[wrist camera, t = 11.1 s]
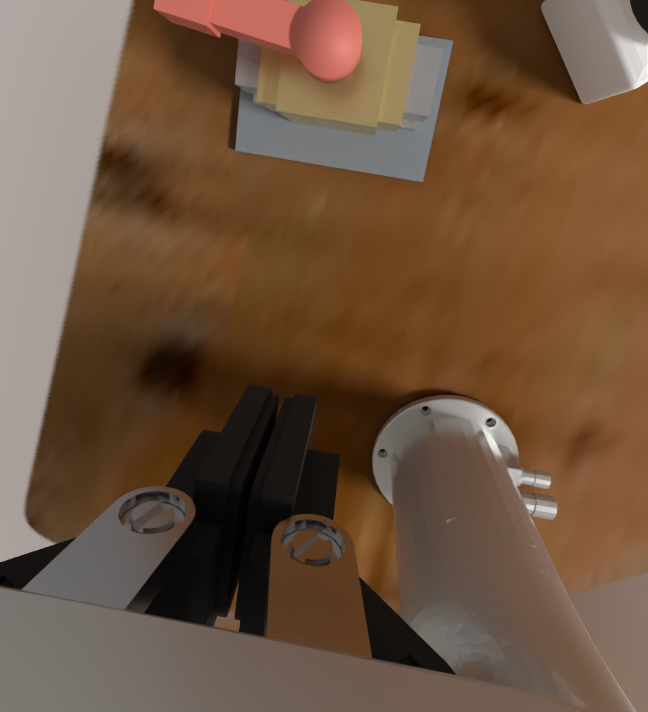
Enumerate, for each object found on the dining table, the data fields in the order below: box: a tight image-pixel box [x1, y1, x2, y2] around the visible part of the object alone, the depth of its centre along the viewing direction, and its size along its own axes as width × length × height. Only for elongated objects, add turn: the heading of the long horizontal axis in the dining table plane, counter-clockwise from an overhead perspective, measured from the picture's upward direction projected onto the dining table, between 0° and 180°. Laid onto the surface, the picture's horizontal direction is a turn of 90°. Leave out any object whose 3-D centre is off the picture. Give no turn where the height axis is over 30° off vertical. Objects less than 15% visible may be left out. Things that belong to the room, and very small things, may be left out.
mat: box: [235, 35, 453, 182], centre depth 35 cm, size 14×9×1 cm, turn 82°
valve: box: [235, 0, 443, 136], centre depth 30 cm, size 12×6×10 cm, turn 82°
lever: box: [154, 0, 362, 84], centre depth 24 cm, size 3×10×2 cm, turn 74°
